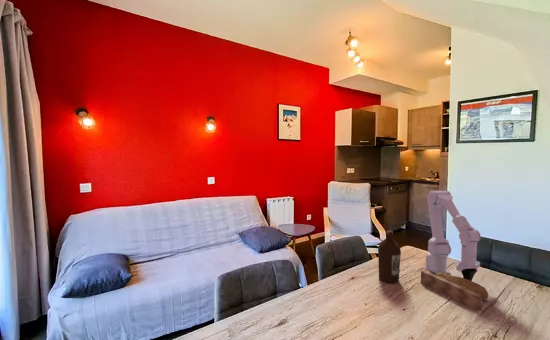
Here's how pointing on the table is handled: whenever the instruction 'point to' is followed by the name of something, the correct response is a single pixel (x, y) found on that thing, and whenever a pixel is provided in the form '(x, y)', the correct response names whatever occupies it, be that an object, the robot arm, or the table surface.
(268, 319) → the table surface
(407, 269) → the table surface
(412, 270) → the table surface
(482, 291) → the brown oblong lump
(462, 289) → the walnut board
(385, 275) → the olive oil
